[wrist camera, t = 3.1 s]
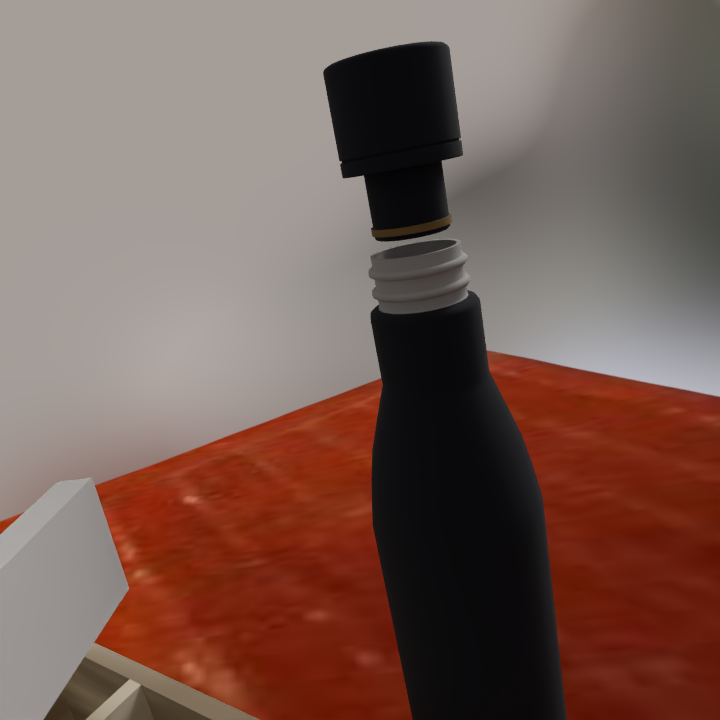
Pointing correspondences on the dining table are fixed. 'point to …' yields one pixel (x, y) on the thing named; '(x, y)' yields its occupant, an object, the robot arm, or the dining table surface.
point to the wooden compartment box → (132, 694)
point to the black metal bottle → (443, 418)
